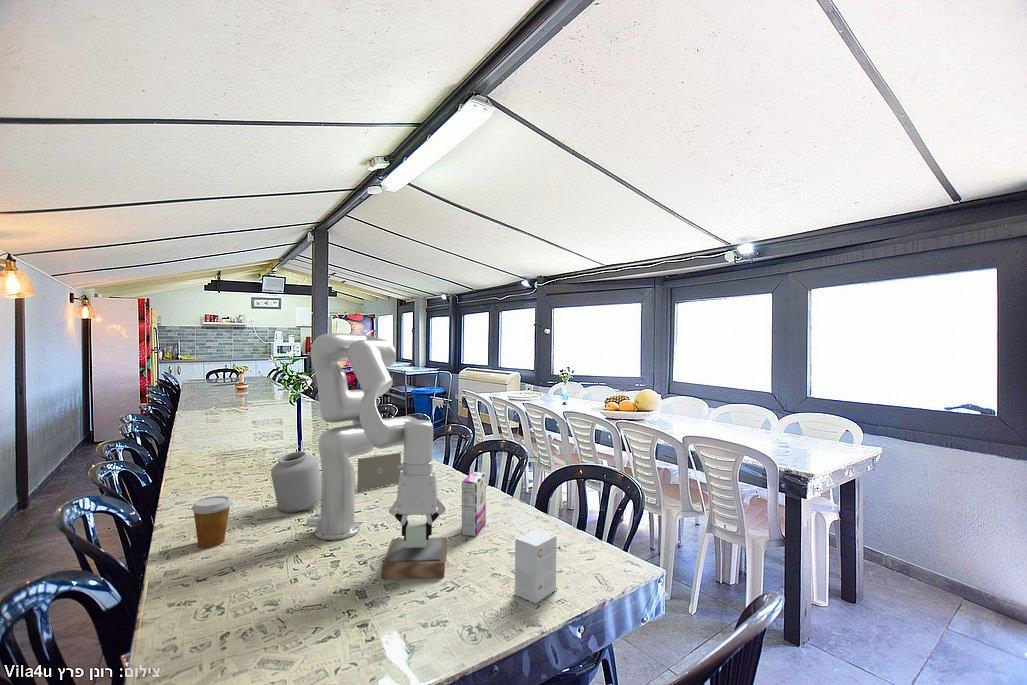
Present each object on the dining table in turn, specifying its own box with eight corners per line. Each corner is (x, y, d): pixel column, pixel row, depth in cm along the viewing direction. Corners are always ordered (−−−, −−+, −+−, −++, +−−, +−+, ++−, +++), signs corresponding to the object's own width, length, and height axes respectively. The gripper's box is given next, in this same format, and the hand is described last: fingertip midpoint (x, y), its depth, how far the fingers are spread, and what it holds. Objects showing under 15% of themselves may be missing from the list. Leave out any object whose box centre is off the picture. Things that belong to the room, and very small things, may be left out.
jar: (277, 522, 148) (279, 443, 149) (255, 511, 157) (257, 437, 157) (331, 506, 164) (333, 434, 164) (309, 497, 172) (310, 429, 173)
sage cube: (405, 547, 119) (406, 528, 119) (408, 539, 124) (408, 520, 124) (425, 547, 120) (425, 527, 120) (427, 539, 125) (427, 520, 125)
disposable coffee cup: (226, 533, 139) (226, 493, 139) (235, 543, 132) (235, 501, 132) (187, 542, 132) (188, 500, 132) (194, 553, 126) (195, 509, 126)
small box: (535, 581, 114) (536, 528, 114) (556, 590, 110) (557, 535, 110) (513, 594, 108) (514, 538, 108) (535, 605, 104) (536, 546, 104)
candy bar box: (471, 522, 151) (471, 471, 151) (486, 523, 150) (486, 472, 150) (460, 535, 140) (461, 480, 140) (476, 537, 139) (477, 482, 139)
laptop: (387, 477, 200) (388, 447, 201) (400, 484, 191) (401, 452, 191) (345, 485, 189) (346, 452, 189) (357, 493, 179) (358, 458, 179)
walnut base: (381, 579, 114) (382, 562, 114) (391, 551, 129) (392, 537, 129) (444, 577, 115) (444, 561, 115) (446, 550, 130) (447, 536, 130)
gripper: (382, 472, 118) (380, 545, 117) (450, 472, 119) (448, 543, 119) (387, 464, 125) (386, 533, 125) (451, 464, 127) (450, 531, 127)
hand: (416, 537), depth 122 cm, fingers closed on sage cube, 4 cm apart
